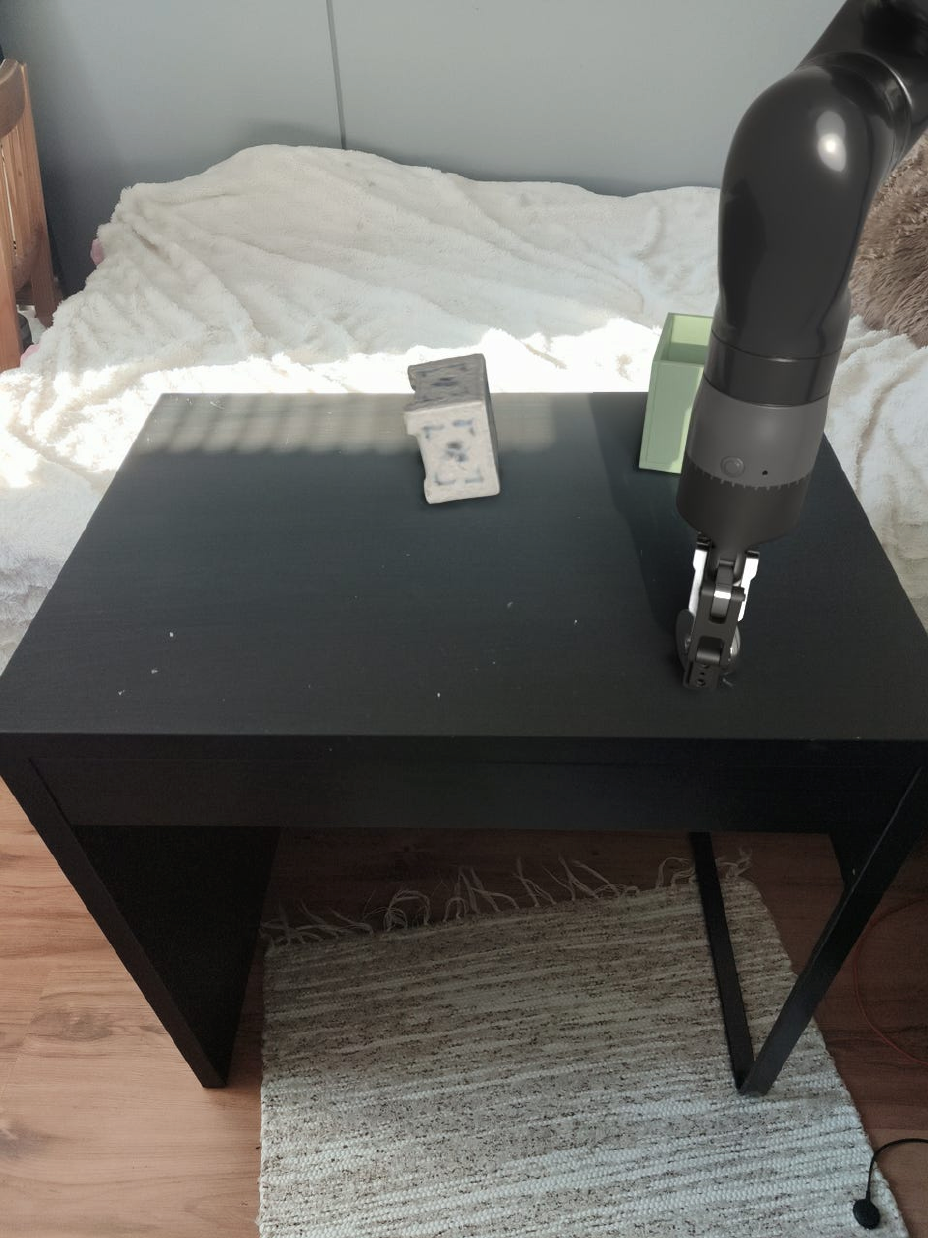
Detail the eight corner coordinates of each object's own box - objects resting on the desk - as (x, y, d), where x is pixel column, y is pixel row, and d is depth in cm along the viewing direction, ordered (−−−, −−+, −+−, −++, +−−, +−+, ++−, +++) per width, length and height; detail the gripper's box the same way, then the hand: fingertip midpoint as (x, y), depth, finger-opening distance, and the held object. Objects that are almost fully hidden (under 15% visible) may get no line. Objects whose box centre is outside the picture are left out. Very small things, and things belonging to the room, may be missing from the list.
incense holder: (413, 452, 89) (406, 352, 83) (497, 450, 89) (498, 350, 83) (408, 508, 82) (401, 403, 75) (500, 506, 82) (501, 401, 75)
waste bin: (765, 426, 92) (788, 323, 85) (759, 484, 84) (784, 376, 77) (654, 412, 95) (668, 311, 88) (638, 467, 87) (652, 361, 80)
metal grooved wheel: (671, 646, 68) (681, 595, 64) (709, 641, 68) (720, 589, 65) (697, 693, 64) (708, 641, 61) (736, 687, 64) (750, 635, 61)
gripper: (814, 524, 48) (752, 729, 59) (816, 400, 58) (763, 594, 69) (672, 502, 50) (636, 705, 60) (698, 385, 60) (664, 577, 71)
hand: (704, 646), depth 65 cm, fingers open, 8 cm apart
